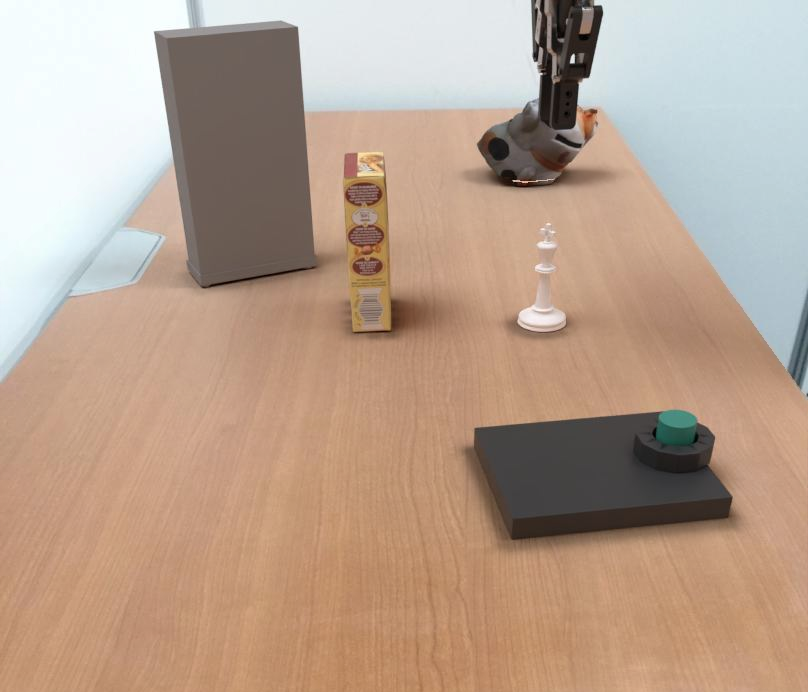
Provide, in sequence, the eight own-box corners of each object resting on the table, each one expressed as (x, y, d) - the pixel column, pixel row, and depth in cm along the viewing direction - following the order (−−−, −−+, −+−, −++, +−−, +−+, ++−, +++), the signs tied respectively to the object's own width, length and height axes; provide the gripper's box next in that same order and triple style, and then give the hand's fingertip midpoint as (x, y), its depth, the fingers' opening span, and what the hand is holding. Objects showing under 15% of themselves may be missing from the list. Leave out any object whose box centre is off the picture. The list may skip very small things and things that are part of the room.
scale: (672, 430, 79) (679, 392, 77) (739, 517, 69) (749, 476, 67) (473, 448, 77) (474, 409, 75) (511, 540, 67) (514, 499, 65)
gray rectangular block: (299, 252, 116) (279, 19, 101) (317, 267, 111) (300, 26, 97) (187, 271, 111) (150, 30, 97) (201, 288, 107) (165, 38, 92)
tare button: (685, 428, 73) (688, 407, 72) (699, 446, 71) (703, 425, 70) (650, 431, 73) (653, 411, 72) (663, 449, 71) (667, 429, 70)
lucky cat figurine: (541, 158, 148) (590, 75, 138) (573, 209, 143) (626, 127, 133) (461, 141, 140) (508, 52, 131) (492, 194, 135) (543, 105, 125)
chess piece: (539, 308, 100) (545, 212, 95) (576, 322, 97) (585, 224, 92) (507, 322, 98) (512, 224, 92) (544, 336, 95) (551, 236, 89)
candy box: (392, 332, 96) (388, 175, 87) (350, 333, 96) (341, 176, 87) (389, 298, 103) (385, 150, 94) (350, 300, 103) (342, 151, 94)
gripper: (648, -104, 71) (621, 140, 81) (591, -111, 82) (573, 105, 92) (550, -102, 70) (535, 145, 80) (506, -108, 82) (497, 109, 92)
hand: (556, 122), depth 86 cm, fingers open, 3 cm apart
